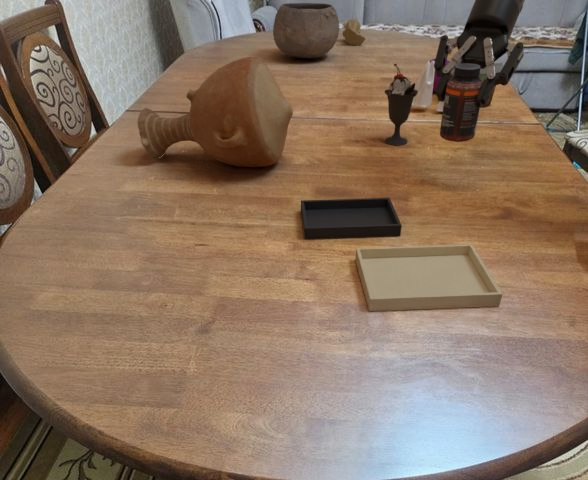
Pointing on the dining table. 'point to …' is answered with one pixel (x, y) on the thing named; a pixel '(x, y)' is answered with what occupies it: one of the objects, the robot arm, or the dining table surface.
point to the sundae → (399, 105)
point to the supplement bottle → (461, 104)
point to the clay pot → (306, 29)
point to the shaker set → (425, 89)
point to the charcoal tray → (349, 218)
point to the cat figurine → (353, 32)
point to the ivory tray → (425, 278)
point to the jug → (227, 117)
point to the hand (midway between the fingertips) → (459, 101)
